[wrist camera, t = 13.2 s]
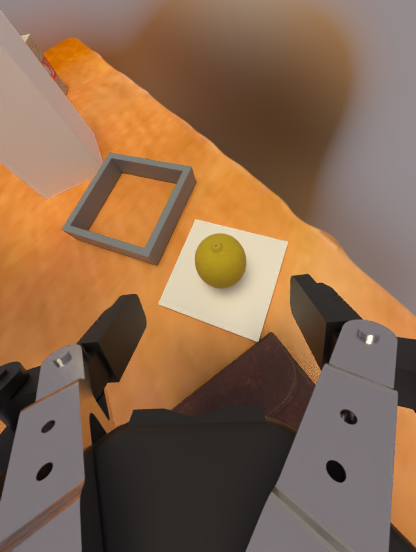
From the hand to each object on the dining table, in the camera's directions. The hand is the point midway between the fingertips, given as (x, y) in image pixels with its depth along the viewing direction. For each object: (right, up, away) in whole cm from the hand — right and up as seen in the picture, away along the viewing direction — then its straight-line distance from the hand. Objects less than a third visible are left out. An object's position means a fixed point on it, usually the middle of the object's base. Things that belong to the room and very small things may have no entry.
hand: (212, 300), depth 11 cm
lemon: (+2, +1, +15) cm, 16 cm away
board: (+2, +1, +16) cm, 16 cm away
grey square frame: (-12, +12, +22) cm, 28 cm away
